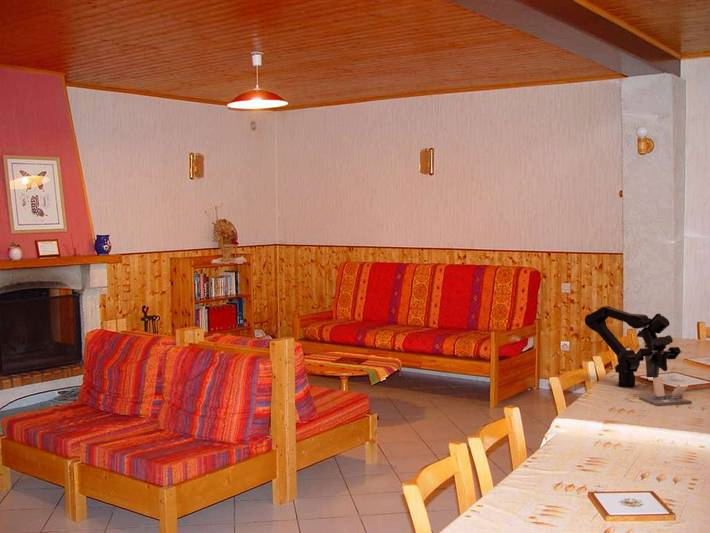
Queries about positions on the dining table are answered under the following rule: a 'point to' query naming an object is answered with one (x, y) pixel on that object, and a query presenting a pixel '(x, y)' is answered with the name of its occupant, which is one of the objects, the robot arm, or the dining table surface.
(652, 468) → the dining table surface
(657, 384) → the unmarked lever
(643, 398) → the switch unit
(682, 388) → the marked lever
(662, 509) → the dining table surface
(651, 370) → the beverage cup
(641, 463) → the dining table surface
